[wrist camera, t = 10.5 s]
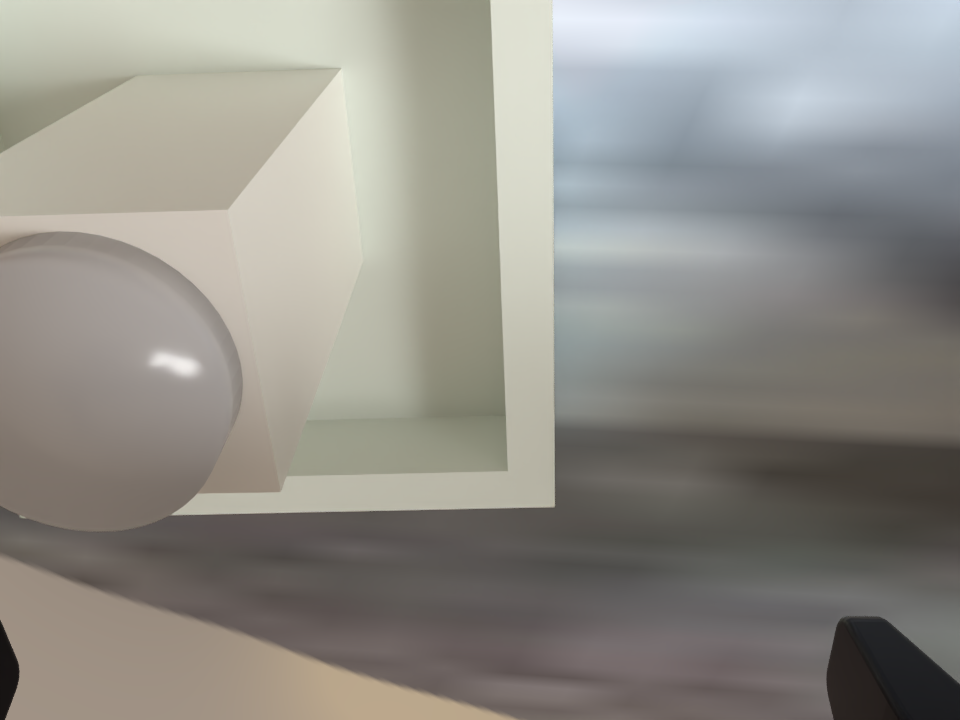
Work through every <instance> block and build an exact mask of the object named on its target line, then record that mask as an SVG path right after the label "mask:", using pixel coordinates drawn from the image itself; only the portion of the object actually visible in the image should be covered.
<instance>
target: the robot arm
mask: <svg viewBox="0 0 960 720" xmlns="http://www.w3.org/2000/svg"><path fill="white" fill-rule="evenodd" d="M826 680H827V691H828V697H829V701H830V706H831V710H832V714H833V719H834V720H960V684H959V683H958V682H957V681H956V680H954V679H953V678H952V677H951V676H950V675H949V674H948V673H946V672H945V671H944V670H943V669H942V668H941V667H940V666H938V665H937V664H936V663H935V662H934V661H933V660H932V659H931V658H929V657H928V656H927V655H926V654H925V653H924V652H923V651H921V650H920V649H919V648H918V647H917V646H916V645H915V644H913V643H912V642H911V641H910V640H909V639H908V638H907V637H905V636H904V635H903V634H902V633H901V632H900V631H899V630H897V629H896V628H895V627H894V626H893V625H892V624H891V623H889V622H888V621H887V620H885V619H883V618H881V617H877V616H846V617H843V618H841V619H840V621H839V622H838V624H837V627H836V631H835V636H834V641H833V645H832V650H831V655H830V659H829V664H828V668H827V678H826ZM18 681H19V664H18V661H17V658H16V656H15V654H14V651H13V649H12V647H11V644H10V642H9V639H8V637H7V635H6V632H5V630H4V627H3V625H2V623H1V621H0V720H5V718H6V715H7V713H8V710H9V707H10V705H11V702H12V699H13V697H14V694H15V692H16V689H17V685H18Z"/></svg>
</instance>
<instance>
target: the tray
mask: <svg viewBox="0 0 960 720" xmlns="http://www.w3.org/2000/svg"><path fill="white" fill-rule="evenodd" d="M334 68H342V75H343V84H344V93H345V102H346V111H347V120H348V129H349V138H350V147H351V156H352V165H353V174H354V183H355V191H356V200H357V209H358V218H359V227H360V236H361V245H362V254H363V263H362V266H361V269H360V271H359V274H358V277H357V280H356V283H355V285H354V288H353V291H352V294H351V297H350V299H349V302H348V305H347V308H346V311H345V313H344V316H343V319H342V322H341V325H340V328H339V330H338V333H337V336H336V339H335V342H334V344H333V347H332V350H331V353H330V356H329V358H328V361H327V364H326V367H325V370H324V372H323V375H322V378H321V381H320V384H319V386H318V389H317V392H316V395H315V398H314V401H313V403H312V406H311V409H310V412H309V415H308V417H307V420H306V423H305V426H304V429H303V431H302V434H301V437H300V440H299V443H298V445H297V448H296V451H295V454H294V457H293V459H292V462H291V465H290V468H289V471H288V474H287V476H286V479H285V482H284V485H283V488H282V490H281V492H267V493H207V494H196V495H195V497H194V498H192V499H191V500H190V501H189V502H188V503H187V504H186V505H184V506H183V507H182V508H180V509H179V510H177V511H176V512H174V513H173V514H171V515H205V514H252V513H299V512H346V511H393V510H440V509H488V508H535V507H555V427H554V222H553V16H552V0H0V153H2V152H4V151H5V150H7V149H9V148H11V147H12V146H14V145H16V144H18V143H19V142H21V141H23V140H25V139H26V138H28V137H30V136H32V135H34V134H35V133H37V132H39V131H41V130H42V129H44V128H46V127H48V126H49V125H51V124H53V123H55V122H56V121H58V120H60V119H62V118H63V117H65V116H67V115H69V114H70V113H72V112H74V111H76V110H78V109H79V108H81V107H83V106H85V105H86V104H88V103H90V102H92V101H93V100H95V99H97V98H99V97H100V96H102V95H104V94H106V93H107V92H109V91H111V90H113V89H114V88H116V87H118V86H120V85H121V84H123V83H125V82H127V81H129V80H130V79H132V78H134V77H136V76H137V75H166V74H194V73H222V72H250V71H278V70H306V69H334ZM19 516H20V518H26V517H23V516H21V515H19Z"/></svg>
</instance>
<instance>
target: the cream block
mask: <svg viewBox="0 0 960 720" xmlns="http://www.w3.org/2000/svg"><path fill="white" fill-rule="evenodd" d="M362 263H363V254H362V245H361V236H360V227H359V218H358V209H357V200H356V191H355V183H354V174H353V165H352V156H351V147H350V138H349V129H348V120H347V111H346V102H345V93H344V84H343V75H342V68H334V69H306V70H278V71H250V72H222V73H194V74H166V75H137V76H136V77H134V78H132V79H130V80H129V81H127V82H125V83H123V84H121V85H120V86H118V87H116V88H114V89H113V90H111V91H109V92H107V93H106V94H104V95H102V96H100V97H99V98H97V99H95V100H93V101H92V102H90V103H88V104H86V105H85V106H83V107H81V108H79V109H78V110H76V111H74V112H72V113H70V114H69V115H67V116H65V117H63V118H62V119H60V120H58V121H56V122H55V123H53V124H51V125H49V126H48V127H46V128H44V129H42V130H41V131H39V132H37V133H35V134H34V135H32V136H30V137H28V138H26V139H25V140H23V141H21V142H19V143H18V144H16V145H14V146H12V147H11V148H9V149H7V150H5V151H4V152H2V153H0V506H2V507H4V508H5V509H7V510H9V511H12V512H14V513H16V514H19V515H21V516H23V517H26V518H28V519H31V520H34V521H37V522H40V523H43V524H47V525H51V526H56V527H60V528H64V529H71V530H79V531H93V532H108V531H121V530H127V529H132V528H138V527H141V526H144V525H148V524H151V523H154V522H156V521H159V520H161V519H163V518H165V517H167V516H169V515H171V514H173V513H174V512H176V511H177V510H179V509H180V508H182V507H183V506H184V505H186V504H187V503H188V502H189V501H190V500H191V499H192V498H194V497H195V495H196V494H207V493H267V492H281V490H282V488H283V485H284V482H285V479H286V476H287V474H288V471H289V468H290V465H291V462H292V459H293V457H294V454H295V451H296V448H297V445H298V443H299V440H300V437H301V434H302V431H303V429H304V426H305V423H306V420H307V417H308V415H309V412H310V409H311V406H312V403H313V401H314V398H315V395H316V392H317V389H318V386H319V384H320V381H321V378H322V375H323V372H324V370H325V367H326V364H327V361H328V358H329V356H330V353H331V350H332V347H333V344H334V342H335V339H336V336H337V333H338V330H339V328H340V325H341V322H342V319H343V316H344V313H345V311H346V308H347V305H348V302H349V299H350V297H351V294H352V291H353V288H354V285H355V283H356V280H357V277H358V274H359V271H360V269H361V266H362Z"/></svg>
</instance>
